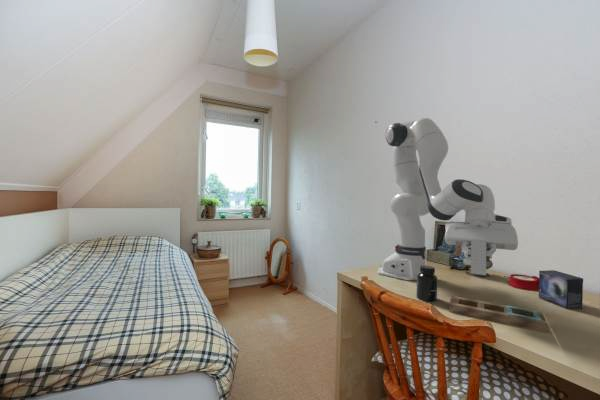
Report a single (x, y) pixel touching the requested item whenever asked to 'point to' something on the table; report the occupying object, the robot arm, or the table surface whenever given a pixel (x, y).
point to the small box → (561, 289)
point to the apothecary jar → (468, 263)
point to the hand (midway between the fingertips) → (478, 256)
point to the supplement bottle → (427, 284)
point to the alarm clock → (524, 282)
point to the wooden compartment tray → (499, 313)
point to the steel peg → (478, 257)
